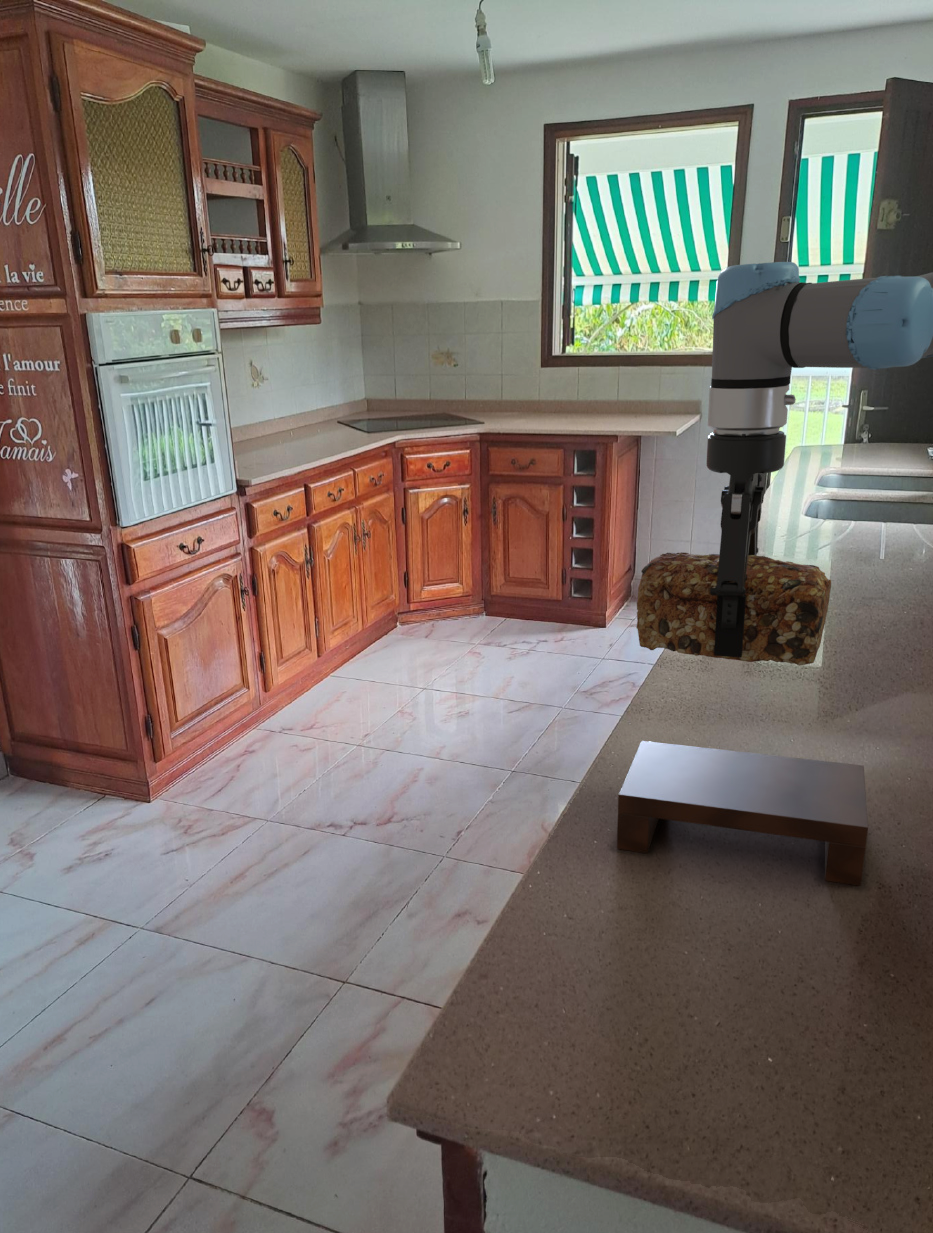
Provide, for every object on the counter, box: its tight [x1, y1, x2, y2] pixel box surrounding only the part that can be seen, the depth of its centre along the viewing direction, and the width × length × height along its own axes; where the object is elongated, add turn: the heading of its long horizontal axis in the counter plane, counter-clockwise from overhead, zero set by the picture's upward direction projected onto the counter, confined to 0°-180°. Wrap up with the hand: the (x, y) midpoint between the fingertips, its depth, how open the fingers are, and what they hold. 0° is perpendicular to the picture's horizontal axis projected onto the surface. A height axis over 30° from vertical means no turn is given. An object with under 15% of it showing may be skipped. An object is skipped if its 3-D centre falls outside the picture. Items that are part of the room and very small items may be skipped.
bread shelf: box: [616, 740, 869, 887], centre depth 95 cm, size 22×13×6 cm, turn 69°
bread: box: [635, 552, 832, 667], centre depth 103 cm, size 19×11×10 cm, turn 63°
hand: (733, 638), depth 104 cm, fingers closed on bread, 11 cm apart
